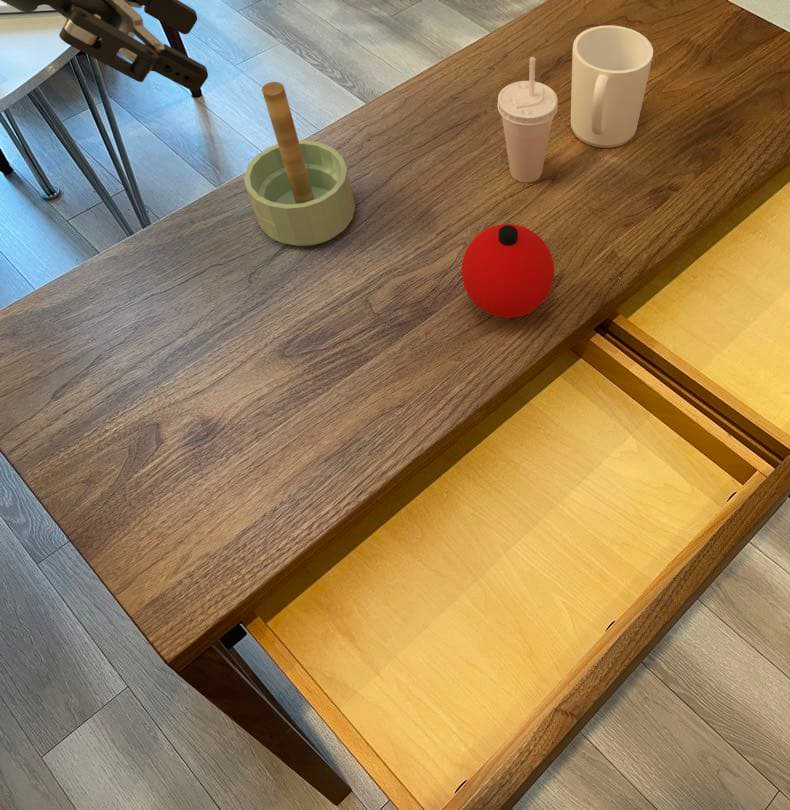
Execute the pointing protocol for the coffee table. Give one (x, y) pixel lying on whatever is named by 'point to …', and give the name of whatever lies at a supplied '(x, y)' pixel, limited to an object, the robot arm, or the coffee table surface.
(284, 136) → the stick
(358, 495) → the coffee table surface
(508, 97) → the smoothie
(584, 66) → the mug
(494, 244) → the ornament
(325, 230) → the bowl
